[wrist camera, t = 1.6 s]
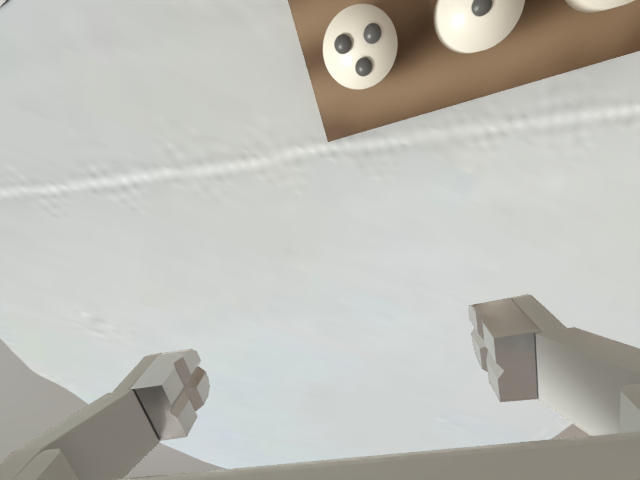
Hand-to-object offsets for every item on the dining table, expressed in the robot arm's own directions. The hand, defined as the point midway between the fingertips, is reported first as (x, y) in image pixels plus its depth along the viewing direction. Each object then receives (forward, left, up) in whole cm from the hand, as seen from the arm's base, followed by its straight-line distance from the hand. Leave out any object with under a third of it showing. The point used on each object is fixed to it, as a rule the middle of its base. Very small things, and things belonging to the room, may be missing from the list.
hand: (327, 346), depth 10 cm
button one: (-8, +11, -22) cm, 25 cm away
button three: (-8, +3, -22) cm, 23 cm away
